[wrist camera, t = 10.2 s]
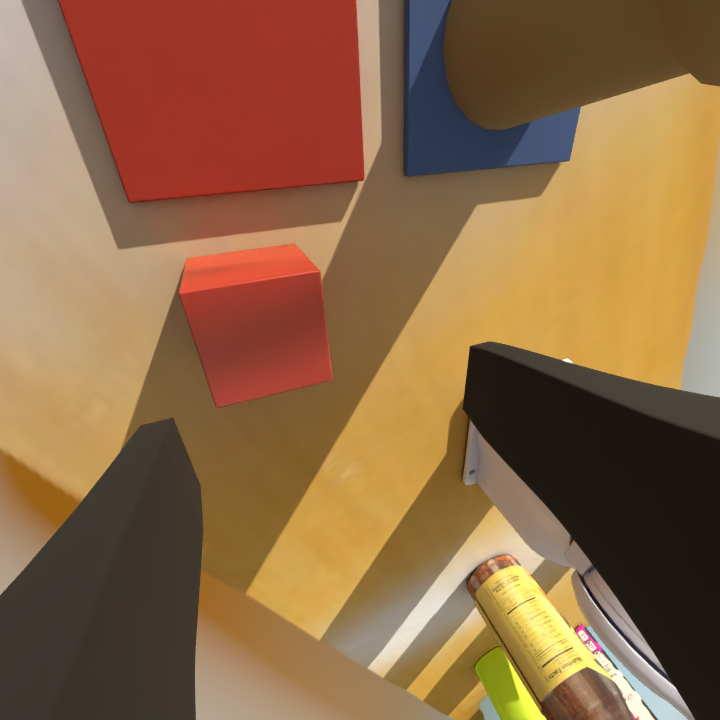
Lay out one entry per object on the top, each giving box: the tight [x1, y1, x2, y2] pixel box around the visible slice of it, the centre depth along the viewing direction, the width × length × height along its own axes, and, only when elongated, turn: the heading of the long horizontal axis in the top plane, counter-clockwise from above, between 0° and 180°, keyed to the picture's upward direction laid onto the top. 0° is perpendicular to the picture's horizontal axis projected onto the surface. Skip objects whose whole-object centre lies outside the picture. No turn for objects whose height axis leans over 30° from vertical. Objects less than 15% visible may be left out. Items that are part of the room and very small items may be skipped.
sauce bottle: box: [467, 555, 634, 720], centre depth 30 cm, size 6×6×20 cm
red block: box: [179, 244, 333, 408], centre depth 15 cm, size 4×4×4 cm
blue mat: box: [404, 0, 581, 176], centre depth 15 cm, size 9×9×1 cm
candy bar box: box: [574, 624, 658, 720], centre depth 53 cm, size 11×5×16 cm, turn 115°
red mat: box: [58, 0, 364, 203], centre depth 12 cm, size 9×9×1 cm
